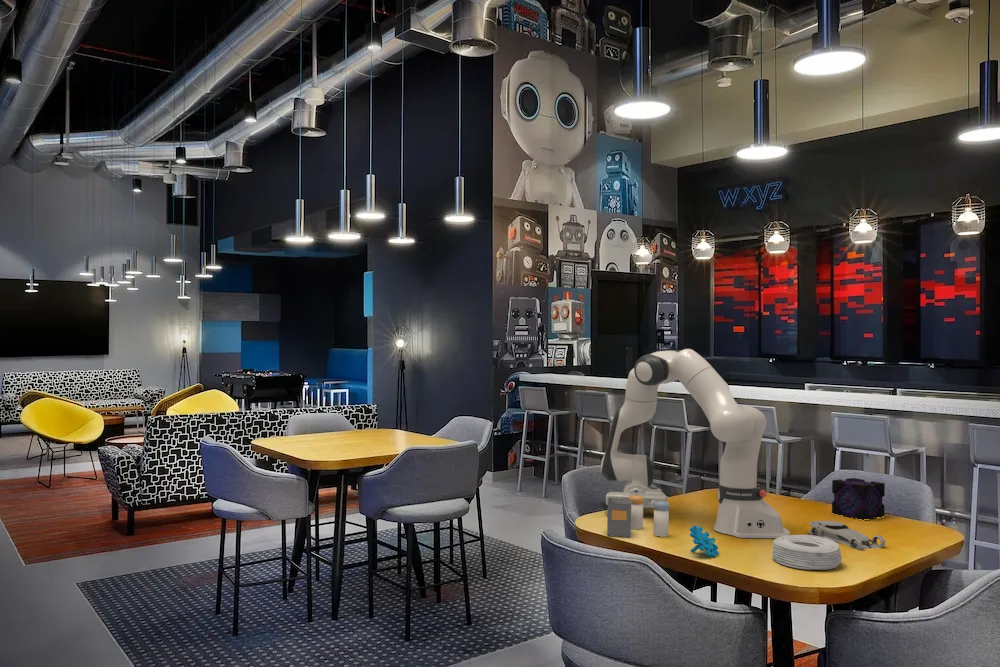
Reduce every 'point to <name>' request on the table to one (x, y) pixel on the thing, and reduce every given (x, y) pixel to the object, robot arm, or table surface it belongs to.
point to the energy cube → (858, 498)
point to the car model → (844, 535)
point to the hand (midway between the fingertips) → (636, 504)
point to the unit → (619, 517)
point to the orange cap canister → (636, 511)
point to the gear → (703, 541)
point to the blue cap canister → (661, 518)
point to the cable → (806, 552)
